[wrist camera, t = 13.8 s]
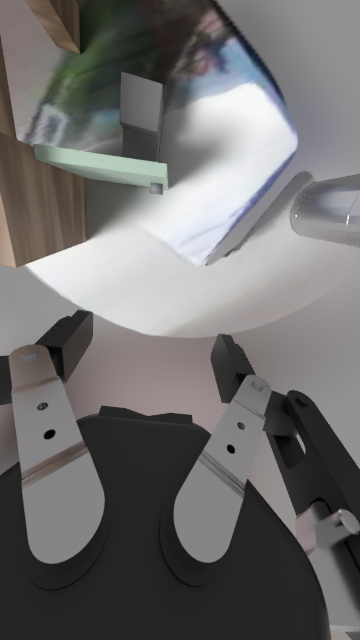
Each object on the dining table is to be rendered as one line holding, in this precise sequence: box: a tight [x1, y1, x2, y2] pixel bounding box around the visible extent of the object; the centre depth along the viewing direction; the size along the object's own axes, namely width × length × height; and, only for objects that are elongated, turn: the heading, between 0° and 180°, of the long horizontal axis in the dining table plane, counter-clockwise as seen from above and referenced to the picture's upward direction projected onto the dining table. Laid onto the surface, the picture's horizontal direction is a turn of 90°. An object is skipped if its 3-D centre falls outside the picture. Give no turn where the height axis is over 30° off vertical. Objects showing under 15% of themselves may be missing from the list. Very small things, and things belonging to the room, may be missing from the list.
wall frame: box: [0, 0, 86, 268], centre depth 23 cm, size 3×28×20 cm, turn 169°
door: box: [33, 144, 169, 195], centre depth 27 cm, size 2×14×15 cm, turn 84°
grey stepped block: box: [120, 71, 164, 162], centre depth 29 cm, size 5×9×6 cm, turn 169°
